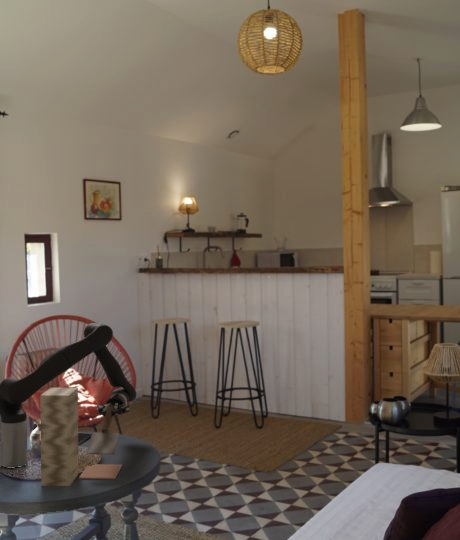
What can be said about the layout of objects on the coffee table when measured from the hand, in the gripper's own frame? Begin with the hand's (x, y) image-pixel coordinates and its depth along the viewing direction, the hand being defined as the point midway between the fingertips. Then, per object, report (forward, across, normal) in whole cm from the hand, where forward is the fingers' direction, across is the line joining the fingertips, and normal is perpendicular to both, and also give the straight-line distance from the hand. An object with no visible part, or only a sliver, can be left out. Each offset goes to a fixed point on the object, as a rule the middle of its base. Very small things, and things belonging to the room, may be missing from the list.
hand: (108, 414), depth 255 cm
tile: (+12, 0, +19) cm, 22 cm away
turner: (+4, 0, +6) cm, 7 cm away
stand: (+20, -13, +19) cm, 30 cm away
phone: (-27, -19, +19) cm, 38 cm away
